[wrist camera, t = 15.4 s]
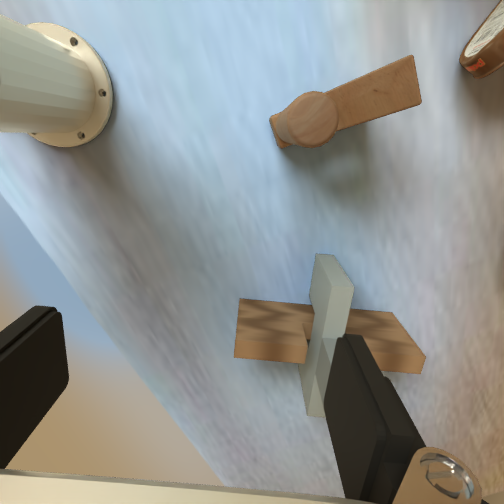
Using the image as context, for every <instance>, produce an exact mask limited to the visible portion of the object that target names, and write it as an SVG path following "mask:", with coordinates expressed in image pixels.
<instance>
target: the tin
mask: <svg viewBox="0 0 504 504" xmlns="http://www.w3.org/2000/svg"><path fill="white" fill-rule="evenodd" d="M459 61H460V64H461V65H462V66H463V67H464V68H465V69H466V70H468V71H469V72H470V73H471V74H472V75H473V77H474V78H475V79H480V78H483V77H485V76H487V75H490V74H491V73H493V72H494V71H496V70H498V69H499V68H500V67H502V66H503V65H504V0H501V1H500V2H499V3H498V5H497V6H496V7H495V8H494V10H493V11H492V12H491V13H490V15H489V16H488V17H487V18H486V20H485V21H484V22H483V23H482V25H481V26H480V27H479V29H478V30H477V31H476V32H475V34H474V35H473V36H472V38H471V39H470V40H469V42H468V43H467V45H466V46H465V48H464V49H463V51H462V53H461V55H460V59H459Z"/></svg>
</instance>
